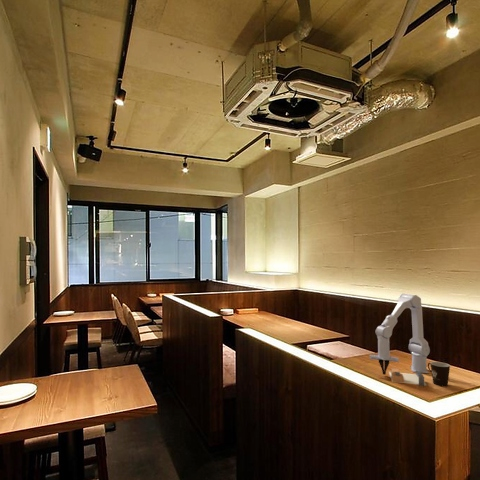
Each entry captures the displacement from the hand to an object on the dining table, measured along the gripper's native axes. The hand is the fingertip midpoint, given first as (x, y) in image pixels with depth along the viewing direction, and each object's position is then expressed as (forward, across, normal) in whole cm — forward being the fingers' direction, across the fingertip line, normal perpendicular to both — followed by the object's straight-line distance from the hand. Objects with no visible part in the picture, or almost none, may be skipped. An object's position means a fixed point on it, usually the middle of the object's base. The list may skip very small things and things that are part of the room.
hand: (384, 374), depth 184 cm
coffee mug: (+1, +26, 0) cm, 26 cm away
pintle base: (+1, +11, 0) cm, 11 cm away
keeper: (+1, +17, -4) cm, 17 cm away
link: (+1, +6, 0) cm, 6 cm away
